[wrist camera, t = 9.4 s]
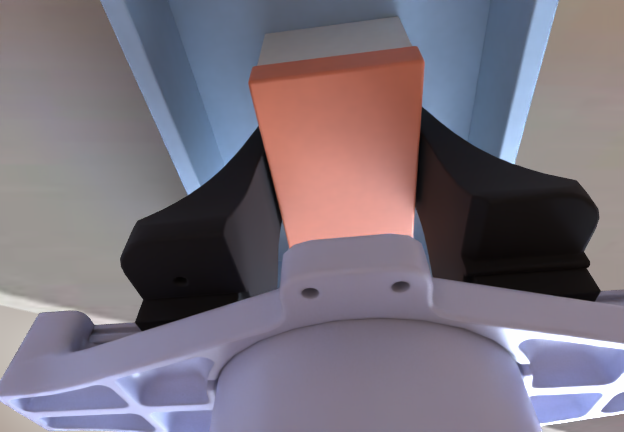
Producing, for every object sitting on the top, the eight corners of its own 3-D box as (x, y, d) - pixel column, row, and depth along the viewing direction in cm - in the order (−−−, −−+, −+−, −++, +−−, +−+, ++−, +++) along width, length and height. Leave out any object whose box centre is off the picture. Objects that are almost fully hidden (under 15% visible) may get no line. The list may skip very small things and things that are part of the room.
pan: (250, 263, 22) (242, 318, 20) (98, -159, 10) (28, -156, 8) (458, 246, 21) (477, 302, 19) (547, -241, 9) (633, -269, 7)
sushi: (297, 198, 18) (294, 271, 15) (262, 23, 13) (246, 81, 10) (395, 189, 18) (412, 262, 15) (399, 5, 13) (426, 59, 10)
